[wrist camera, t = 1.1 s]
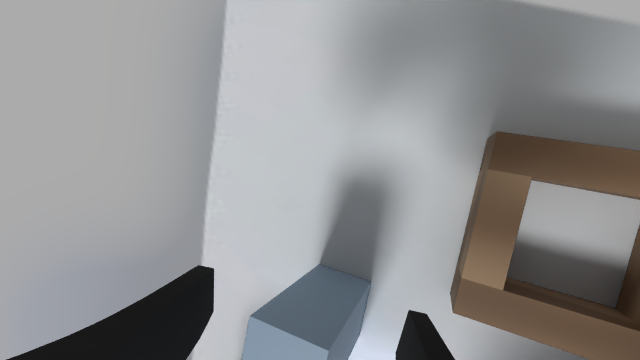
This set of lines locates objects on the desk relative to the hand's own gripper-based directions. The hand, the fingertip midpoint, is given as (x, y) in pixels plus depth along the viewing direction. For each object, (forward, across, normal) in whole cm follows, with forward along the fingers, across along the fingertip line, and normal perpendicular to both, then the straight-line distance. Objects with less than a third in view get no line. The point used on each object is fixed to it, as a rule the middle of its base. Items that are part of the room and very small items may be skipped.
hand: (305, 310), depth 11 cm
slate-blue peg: (+9, -2, +7) cm, 12 cm away
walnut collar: (+8, -13, -1) cm, 16 cm away
